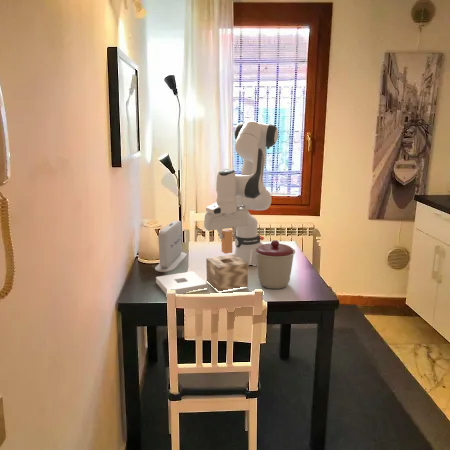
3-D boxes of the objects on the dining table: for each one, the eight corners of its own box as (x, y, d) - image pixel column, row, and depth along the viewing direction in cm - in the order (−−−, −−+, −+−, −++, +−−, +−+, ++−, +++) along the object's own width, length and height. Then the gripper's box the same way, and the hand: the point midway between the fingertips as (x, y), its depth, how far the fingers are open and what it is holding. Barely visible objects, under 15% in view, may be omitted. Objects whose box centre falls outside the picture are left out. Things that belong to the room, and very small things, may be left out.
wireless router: (171, 272, 227) (170, 233, 222) (152, 271, 229) (150, 232, 224) (188, 253, 256) (188, 218, 251) (171, 252, 258) (170, 217, 253)
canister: (255, 277, 220) (255, 234, 215) (293, 278, 218) (294, 235, 213) (253, 291, 203) (253, 245, 198) (294, 293, 201) (296, 247, 196)
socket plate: (192, 277, 220) (192, 271, 220) (207, 290, 204) (207, 283, 204) (156, 283, 213) (156, 276, 212) (168, 297, 197) (168, 290, 196)
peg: (228, 250, 208) (228, 228, 205) (232, 252, 205) (232, 230, 202) (221, 251, 207) (221, 229, 204) (225, 253, 203) (224, 231, 201)
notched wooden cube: (234, 278, 218) (234, 254, 215) (247, 288, 206) (247, 263, 203) (206, 283, 213) (206, 258, 210) (219, 293, 200) (218, 267, 197)
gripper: (244, 203, 207) (244, 232, 211) (202, 208, 199) (203, 238, 203) (251, 206, 202) (251, 236, 205) (208, 211, 194) (208, 242, 197)
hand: (226, 237), depth 204 cm, fingers closed on peg, 4 cm apart
